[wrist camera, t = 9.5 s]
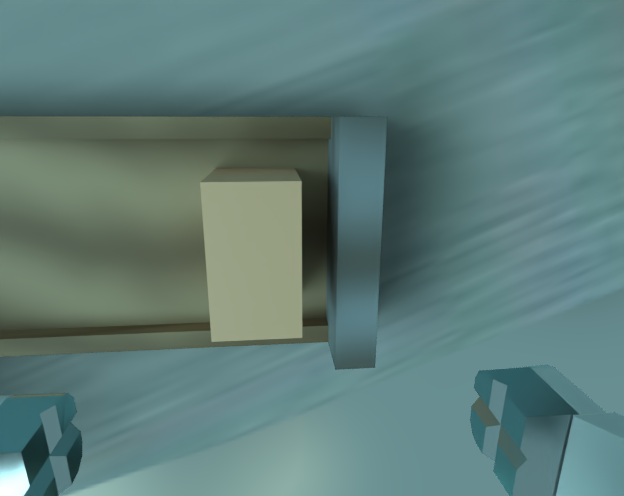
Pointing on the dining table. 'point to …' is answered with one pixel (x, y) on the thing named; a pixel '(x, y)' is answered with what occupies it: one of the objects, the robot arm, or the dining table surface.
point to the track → (176, 229)
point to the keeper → (253, 253)
